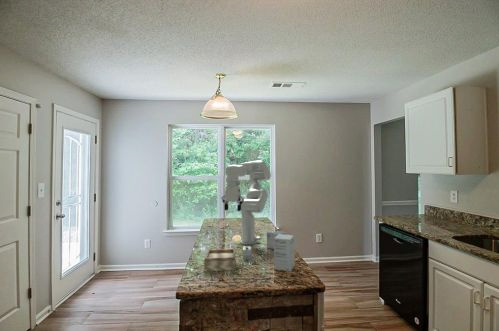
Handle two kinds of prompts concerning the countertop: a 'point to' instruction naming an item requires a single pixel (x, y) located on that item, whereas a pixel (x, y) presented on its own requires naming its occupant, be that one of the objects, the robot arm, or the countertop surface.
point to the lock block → (246, 252)
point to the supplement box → (284, 252)
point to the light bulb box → (272, 238)
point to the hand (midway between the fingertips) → (232, 210)
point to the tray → (220, 260)
